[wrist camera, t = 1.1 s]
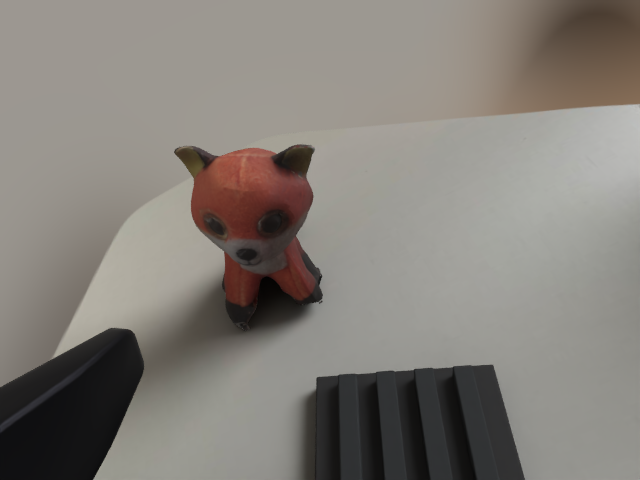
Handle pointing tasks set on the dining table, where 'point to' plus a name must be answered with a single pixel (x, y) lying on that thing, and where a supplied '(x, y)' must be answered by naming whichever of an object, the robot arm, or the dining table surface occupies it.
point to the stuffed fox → (255, 221)
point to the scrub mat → (414, 426)
